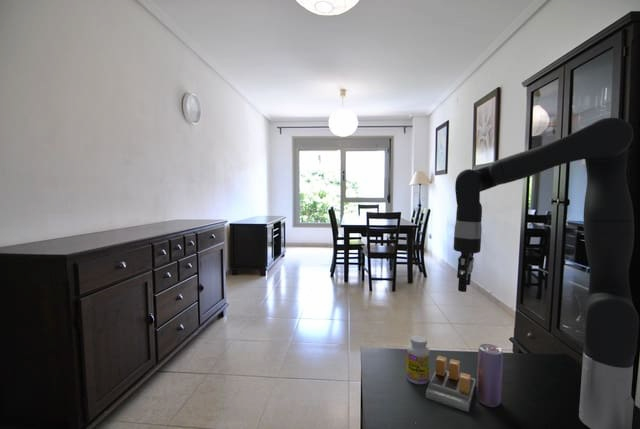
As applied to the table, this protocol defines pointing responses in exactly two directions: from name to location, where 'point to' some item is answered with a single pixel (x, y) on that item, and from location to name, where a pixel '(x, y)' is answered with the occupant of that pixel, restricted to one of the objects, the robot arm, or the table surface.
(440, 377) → the tray
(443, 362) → the wooden block
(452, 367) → the paddle
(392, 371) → the table surface
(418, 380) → the supplement bottle
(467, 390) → the tan upright block
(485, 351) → the beverage can
